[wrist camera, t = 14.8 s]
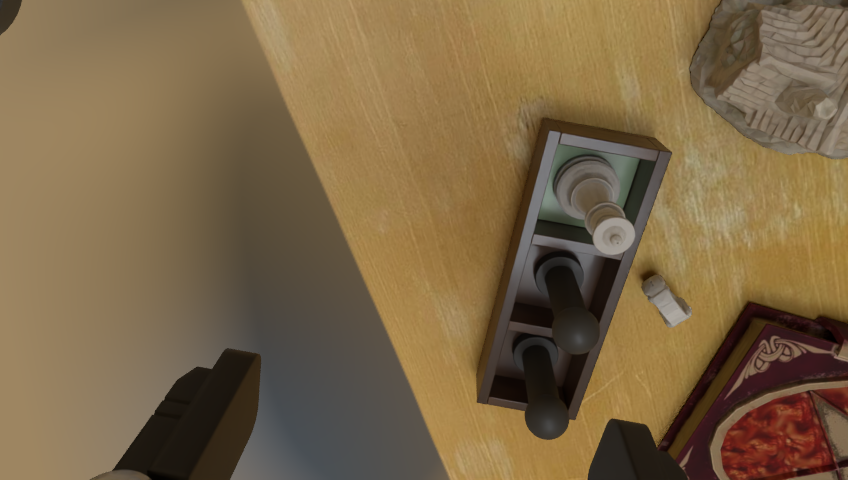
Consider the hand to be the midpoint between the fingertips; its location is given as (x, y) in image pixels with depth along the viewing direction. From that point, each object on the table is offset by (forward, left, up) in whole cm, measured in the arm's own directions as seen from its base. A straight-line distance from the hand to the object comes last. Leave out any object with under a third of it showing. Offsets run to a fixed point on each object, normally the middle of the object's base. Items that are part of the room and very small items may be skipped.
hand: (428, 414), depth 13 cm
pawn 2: (+10, -17, -30) cm, 36 cm away
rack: (+10, -10, -30) cm, 33 cm away
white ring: (+18, -10, -30) cm, 37 cm away
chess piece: (+10, -3, -30) cm, 31 cm away
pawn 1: (+10, -10, -30) cm, 33 cm away
